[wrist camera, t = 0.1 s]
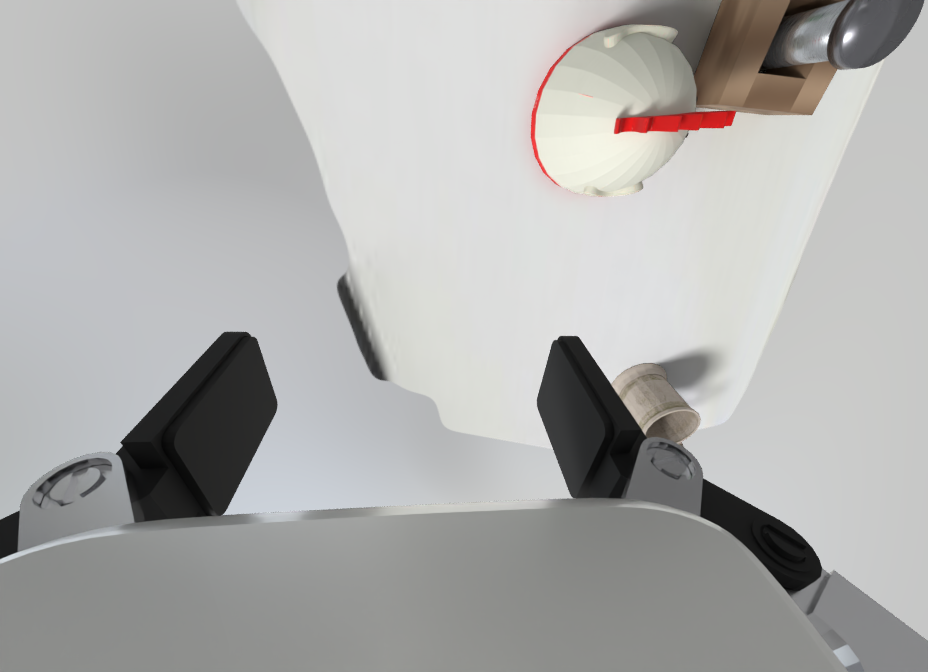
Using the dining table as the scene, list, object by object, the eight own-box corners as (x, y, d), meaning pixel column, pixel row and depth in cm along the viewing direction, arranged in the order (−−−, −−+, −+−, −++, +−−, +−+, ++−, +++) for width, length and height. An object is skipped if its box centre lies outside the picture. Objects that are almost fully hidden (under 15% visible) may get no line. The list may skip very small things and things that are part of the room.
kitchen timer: (643, 186, 39) (745, 219, 26) (528, 196, 38) (576, 235, 26) (679, 26, 31) (849, -34, 18) (535, 36, 30) (609, -19, 18)
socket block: (734, -33, 29) (785, -58, 25) (831, -17, 30) (895, -38, 26) (683, 105, 34) (718, 104, 30) (767, 115, 36) (812, 114, 31)
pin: (743, 10, 31) (881, -36, 21) (790, 17, 31) (944, -24, 22) (716, 78, 33) (828, 64, 24) (760, 83, 34) (885, 71, 25)
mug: (601, 382, 56) (639, 440, 46) (657, 353, 54) (709, 408, 44) (627, 426, 63) (665, 484, 53) (678, 402, 61) (726, 458, 51)
